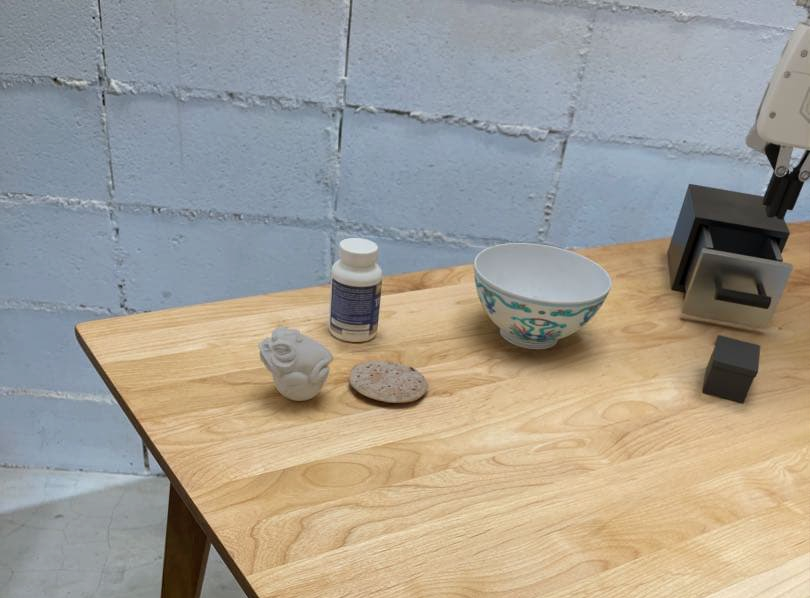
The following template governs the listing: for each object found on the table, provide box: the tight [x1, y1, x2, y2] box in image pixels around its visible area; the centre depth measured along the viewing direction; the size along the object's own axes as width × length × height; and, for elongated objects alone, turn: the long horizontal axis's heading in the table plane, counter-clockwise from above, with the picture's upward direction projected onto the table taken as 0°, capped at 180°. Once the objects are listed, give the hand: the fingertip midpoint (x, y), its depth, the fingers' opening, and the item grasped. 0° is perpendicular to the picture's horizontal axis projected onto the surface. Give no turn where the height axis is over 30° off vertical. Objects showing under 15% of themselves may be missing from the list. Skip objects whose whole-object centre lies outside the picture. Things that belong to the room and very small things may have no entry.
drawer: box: [681, 224, 794, 330], centre depth 102 cm, size 17×10×8 cm, turn 169°
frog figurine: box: [257, 325, 334, 402], centre depth 79 cm, size 6×7×7 cm
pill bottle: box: [328, 237, 383, 343], centre depth 89 cm, size 5×5×10 cm
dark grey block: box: [701, 334, 761, 404], centre depth 91 cm, size 6×5×4 cm
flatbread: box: [348, 360, 429, 404], centre depth 84 cm, size 8×8×1 cm
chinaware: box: [473, 242, 613, 350], centre depth 93 cm, size 15×15×8 cm
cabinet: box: [667, 183, 791, 293], centre depth 111 cm, size 13×12×10 cm
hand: (774, 214), depth 88 cm, fingers closed
